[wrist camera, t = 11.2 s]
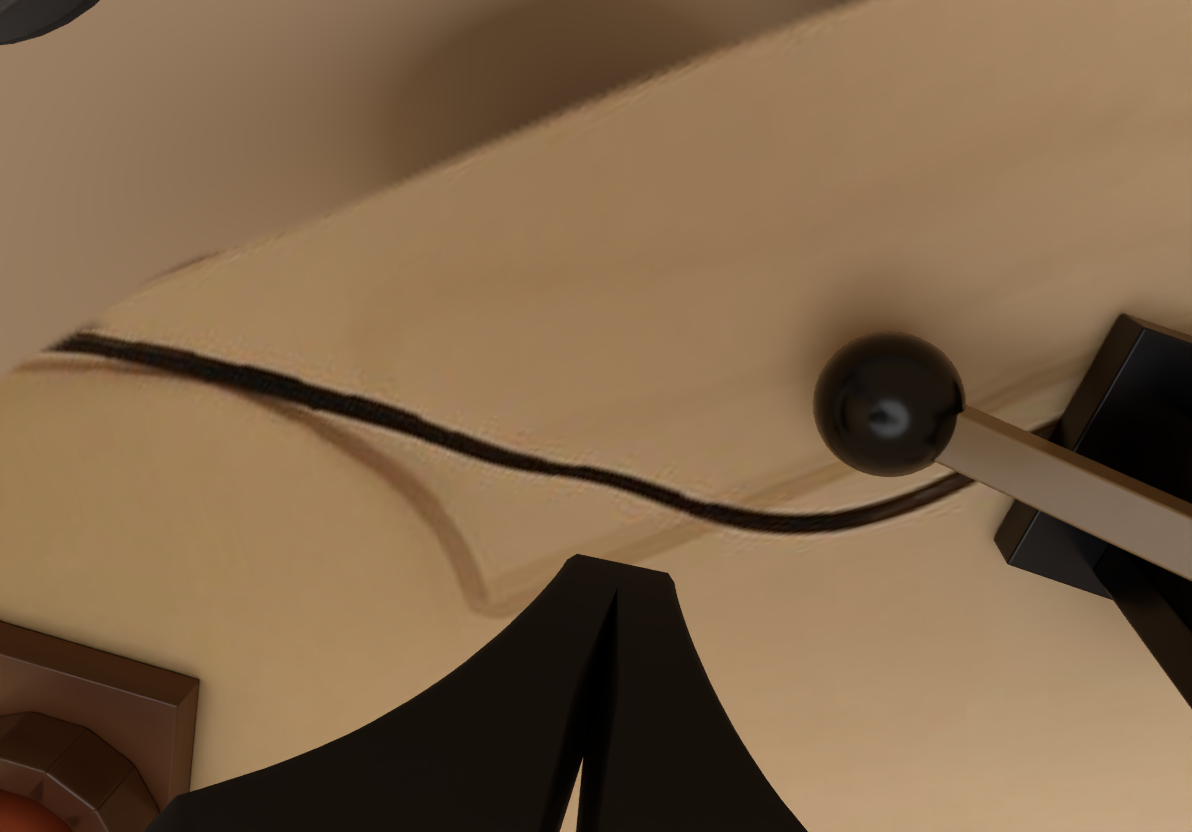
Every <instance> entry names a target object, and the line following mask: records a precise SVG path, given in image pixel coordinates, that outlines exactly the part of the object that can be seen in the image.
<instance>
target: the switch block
mask: <svg viewBox="0 0 1192 832" xmlns="http://www.w3.org/2000/svg"><path fill="white" fill-rule="evenodd" d="M198 685H199V681H198V680H196V679H193V678H189V677H186V676H183V675H179V674H176V673H172V672H169V671H166V670H162V669H159V668H155V667H152V666H149V665H145V664H142V663H138V662H135V661H132V660H128V659H125V658H121V657H118V656H115V655H111V654H108V653H104V652H101V651H98V650H94V649H91V648H87V647H84V646H81V645H77V644H74V643H70V642H67V641H64V640H60V639H57V638H53V637H50V636H47V635H43V634H40V633H36V632H33V631H30V630H26V629H23V628H19V627H16V626H13V625H9V624H6V623H2V622H0V789H2V790H5V791H8V792H12V793H15V794H18V795H22V796H25V797H28V798H32V799H35V800H37V801H38V802H39V803H41V804H42V805H43V806H45V807H46V808H47V809H49V810H50V811H51V812H53V813H54V814H55V815H57V816H58V817H59V818H61V819H62V820H63V821H65V822H66V823H67V824H68V825H69V827H70V828H71V830H72V832H142V831H143V830H144V829H145V828H146V827H147V826H148V825H149V824H150V823H151V822H152V821H153V820H154V819H155V818H156V817H157V816H158V815H159V814H160V813H161V812H162V810H163V809H164V808H165V807H166V806H167V805H168V804H169V803H170V802H171V801H172V800H173V799H174V798H175V797H176V796H178V795H181V794H184V793H188V792H189V781H190V770H191V760H192V749H193V738H194V727H195V717H196V706H197V695H198Z"/></svg>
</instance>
